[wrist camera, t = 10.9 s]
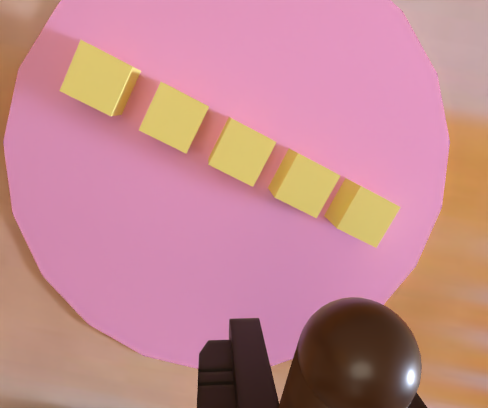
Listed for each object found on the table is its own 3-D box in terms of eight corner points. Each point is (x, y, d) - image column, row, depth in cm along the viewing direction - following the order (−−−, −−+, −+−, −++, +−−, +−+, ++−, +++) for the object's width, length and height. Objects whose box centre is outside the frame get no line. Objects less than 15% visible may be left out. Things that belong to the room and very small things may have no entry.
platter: (118, -183, 25) (104, -227, 21) (531, 79, 30) (570, 76, 27) (-61, 273, 30) (-94, 294, 27) (316, 422, 36) (327, 454, 33)
